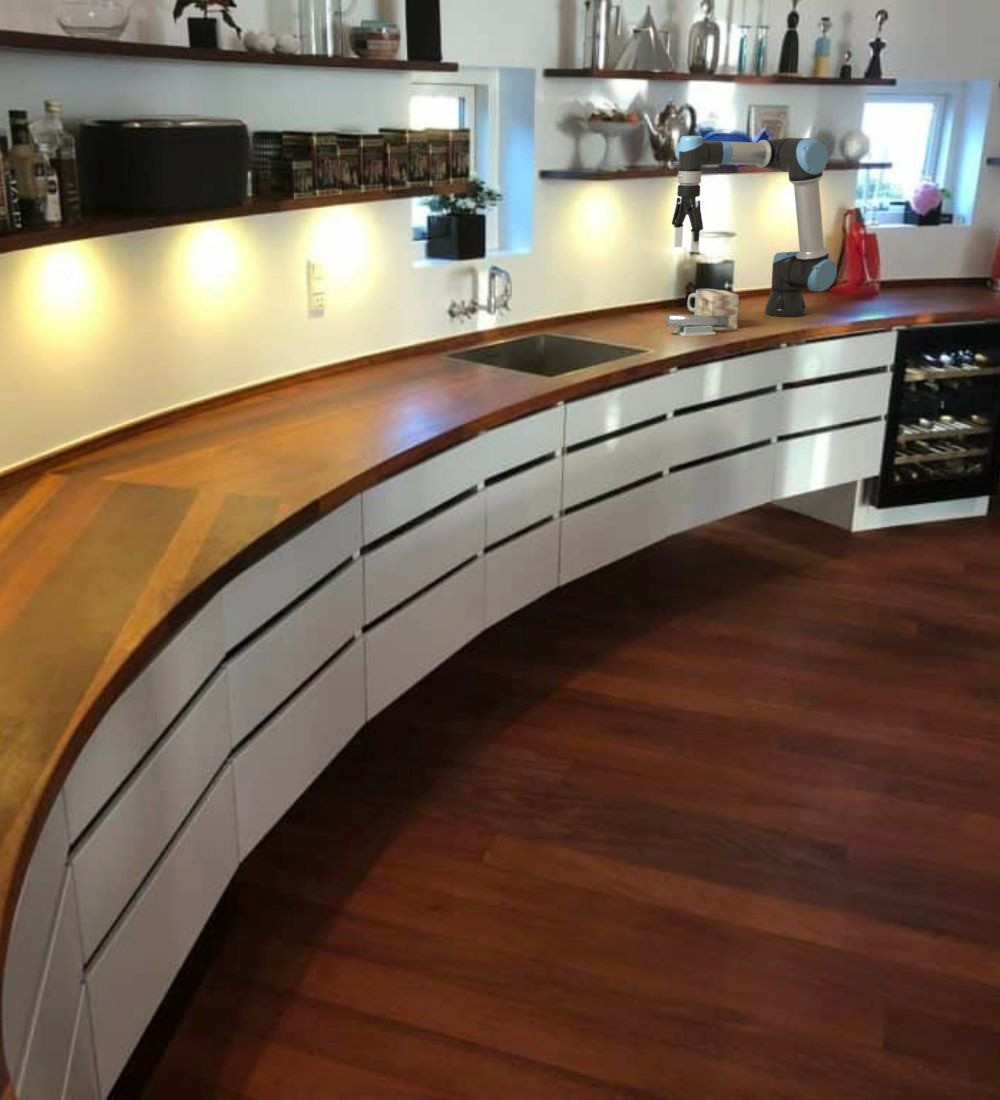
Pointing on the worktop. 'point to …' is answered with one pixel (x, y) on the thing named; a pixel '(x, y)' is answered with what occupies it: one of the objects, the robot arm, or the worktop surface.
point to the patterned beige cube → (719, 306)
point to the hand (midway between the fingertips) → (686, 249)
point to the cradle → (695, 331)
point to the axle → (696, 320)
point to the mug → (695, 300)
